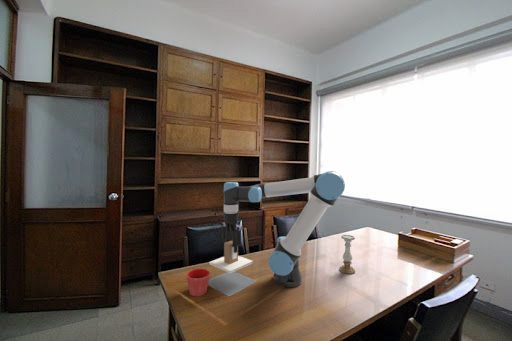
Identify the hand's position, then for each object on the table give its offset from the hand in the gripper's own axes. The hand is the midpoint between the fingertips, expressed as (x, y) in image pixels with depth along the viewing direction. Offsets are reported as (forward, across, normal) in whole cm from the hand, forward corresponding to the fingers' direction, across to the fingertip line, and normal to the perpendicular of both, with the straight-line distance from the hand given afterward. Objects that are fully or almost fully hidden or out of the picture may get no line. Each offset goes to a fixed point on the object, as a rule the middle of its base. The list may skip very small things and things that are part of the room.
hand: (231, 257), depth 127 cm
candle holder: (+15, -38, -57) cm, 70 cm away
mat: (+14, 0, 0) cm, 14 cm away
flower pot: (+14, +4, +17) cm, 22 cm away
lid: (+3, 0, 0) cm, 3 cm away
